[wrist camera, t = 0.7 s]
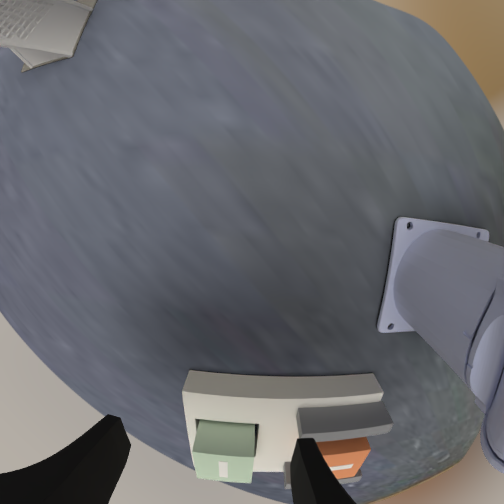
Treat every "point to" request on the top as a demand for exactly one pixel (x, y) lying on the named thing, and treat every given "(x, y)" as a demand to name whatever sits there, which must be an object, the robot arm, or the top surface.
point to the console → (287, 411)
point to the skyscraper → (43, 28)
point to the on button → (224, 451)
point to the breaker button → (344, 455)
